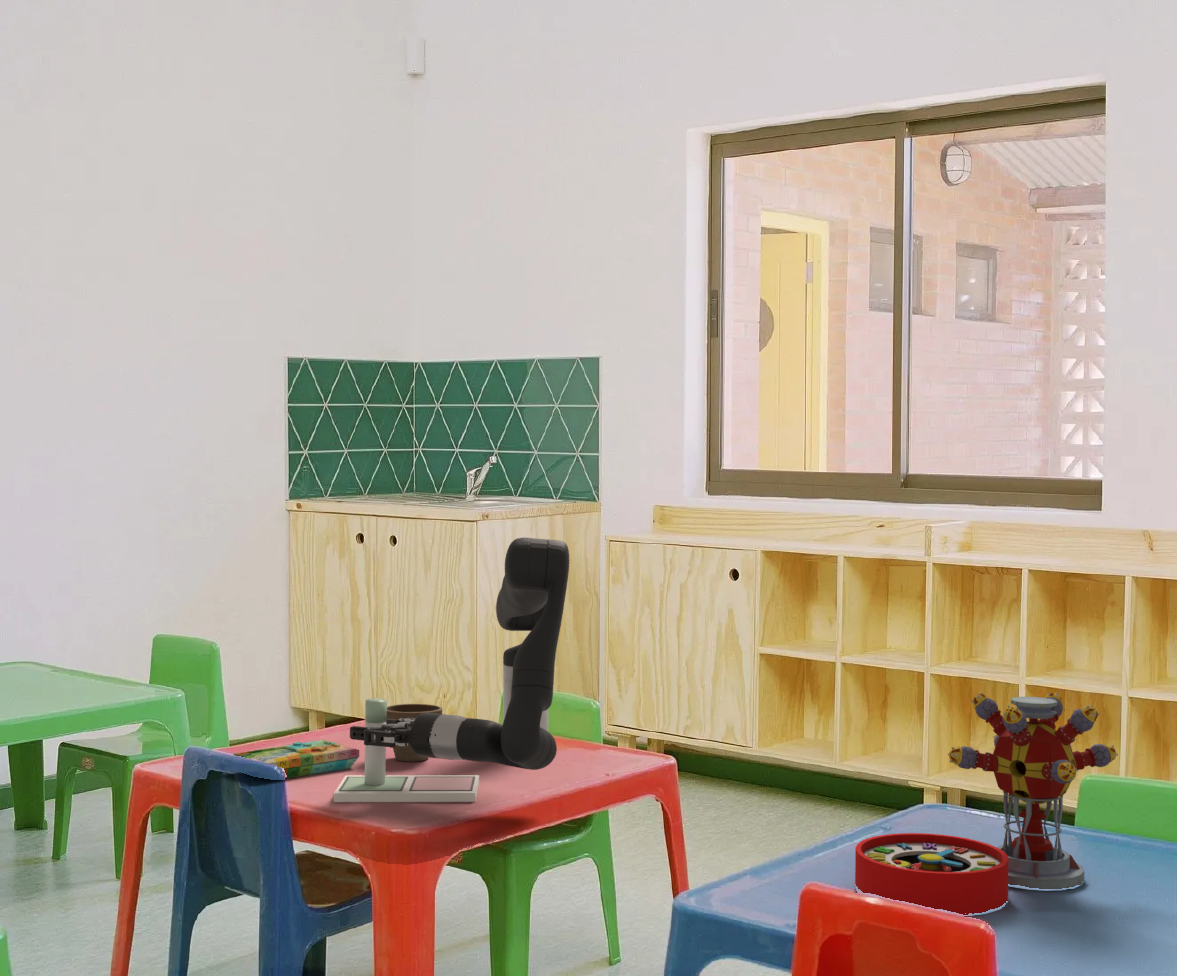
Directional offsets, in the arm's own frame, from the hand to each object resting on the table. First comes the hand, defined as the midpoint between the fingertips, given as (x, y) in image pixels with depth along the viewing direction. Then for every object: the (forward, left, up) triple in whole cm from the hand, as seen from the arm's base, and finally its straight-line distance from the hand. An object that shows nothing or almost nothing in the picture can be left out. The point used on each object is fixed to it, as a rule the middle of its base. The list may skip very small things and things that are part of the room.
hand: (365, 728), depth 245 cm
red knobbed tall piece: (+53, +100, -11) cm, 113 cm away
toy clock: (+60, +83, -12) cm, 104 cm away
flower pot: (-28, +6, -11) cm, 31 cm away
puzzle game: (-18, -15, -12) cm, 26 cm away
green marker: (+1, +2, -9) cm, 10 cm away
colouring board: (+1, +8, -11) cm, 14 cm away
